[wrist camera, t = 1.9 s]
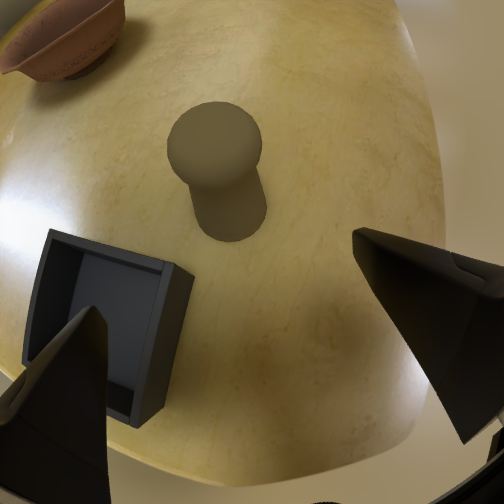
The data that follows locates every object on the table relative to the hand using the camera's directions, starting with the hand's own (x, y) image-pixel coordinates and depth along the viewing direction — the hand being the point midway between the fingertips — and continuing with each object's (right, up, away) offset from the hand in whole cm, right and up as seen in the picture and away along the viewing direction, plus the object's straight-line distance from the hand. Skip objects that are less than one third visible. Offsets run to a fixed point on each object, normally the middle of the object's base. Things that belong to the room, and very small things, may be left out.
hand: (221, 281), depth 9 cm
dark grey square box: (-10, -5, +13) cm, 17 cm away
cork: (-1, +5, +15) cm, 16 cm away
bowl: (-24, +30, +22) cm, 44 cm away
